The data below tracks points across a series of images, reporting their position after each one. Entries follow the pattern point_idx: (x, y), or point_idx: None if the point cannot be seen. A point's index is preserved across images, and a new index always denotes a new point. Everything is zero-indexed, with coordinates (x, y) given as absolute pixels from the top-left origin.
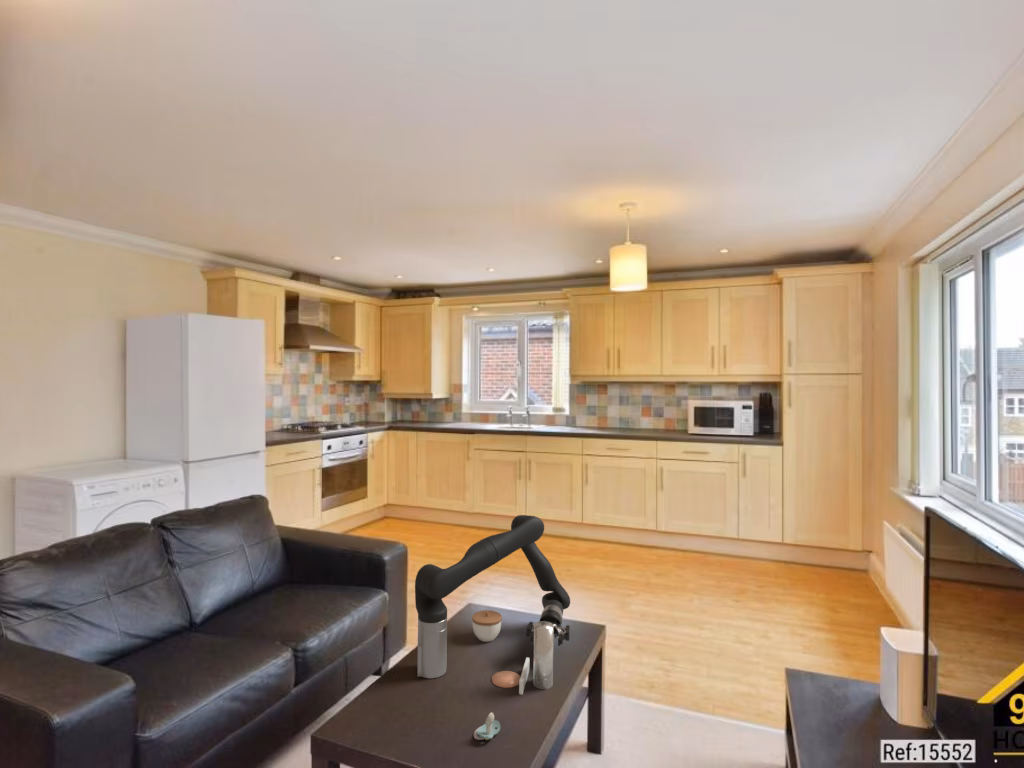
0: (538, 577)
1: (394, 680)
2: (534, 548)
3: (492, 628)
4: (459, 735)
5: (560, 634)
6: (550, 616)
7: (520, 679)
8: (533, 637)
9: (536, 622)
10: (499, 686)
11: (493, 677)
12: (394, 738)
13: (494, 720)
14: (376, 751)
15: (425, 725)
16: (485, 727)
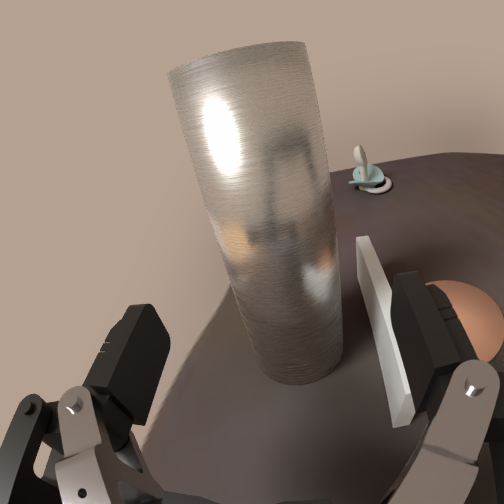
0: None
1: None
2: None
3: None
4: (409, 177)
5: (97, 378)
6: None
7: (367, 241)
8: (395, 275)
9: (295, 42)
10: (446, 282)
11: (493, 306)
12: (475, 163)
13: (365, 181)
14: (470, 153)
15: (468, 177)
16: (376, 181)
